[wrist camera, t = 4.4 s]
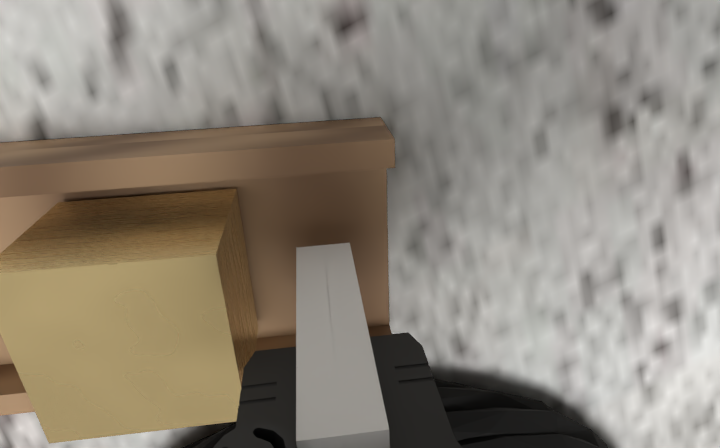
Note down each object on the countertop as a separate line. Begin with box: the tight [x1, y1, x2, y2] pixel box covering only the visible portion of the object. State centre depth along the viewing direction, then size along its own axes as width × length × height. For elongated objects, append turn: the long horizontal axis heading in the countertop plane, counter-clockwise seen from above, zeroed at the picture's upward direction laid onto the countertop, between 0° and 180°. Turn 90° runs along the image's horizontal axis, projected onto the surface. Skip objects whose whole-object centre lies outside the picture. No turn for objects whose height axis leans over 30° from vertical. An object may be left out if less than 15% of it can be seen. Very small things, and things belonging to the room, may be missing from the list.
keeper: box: [0, 189, 258, 443], centre depth 13 cm, size 5×5×4 cm
